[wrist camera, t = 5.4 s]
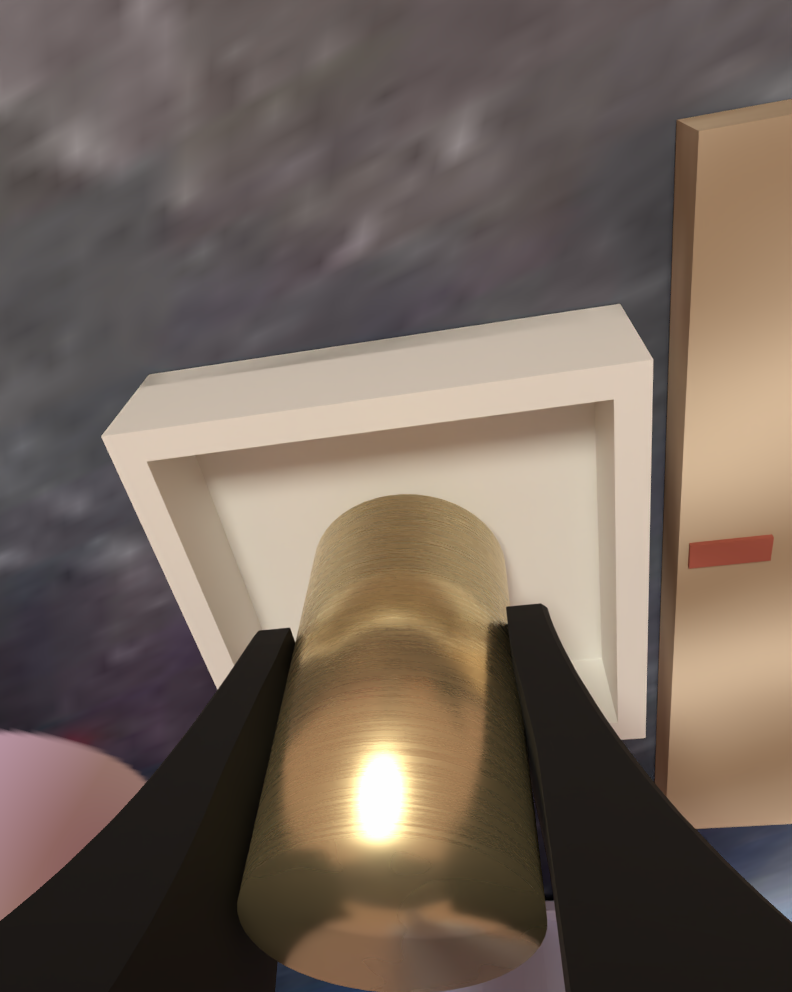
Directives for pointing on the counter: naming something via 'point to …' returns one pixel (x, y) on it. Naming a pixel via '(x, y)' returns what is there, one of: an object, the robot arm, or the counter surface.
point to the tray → (411, 476)
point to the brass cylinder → (399, 765)
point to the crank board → (729, 475)
